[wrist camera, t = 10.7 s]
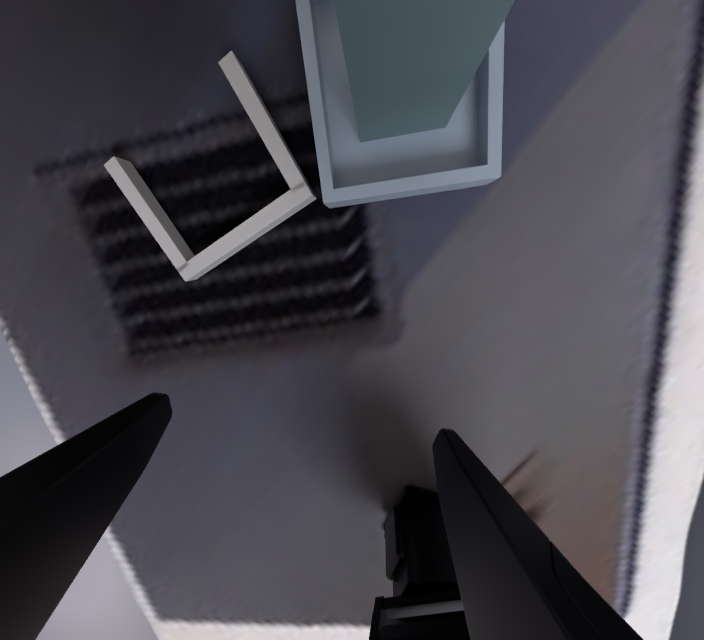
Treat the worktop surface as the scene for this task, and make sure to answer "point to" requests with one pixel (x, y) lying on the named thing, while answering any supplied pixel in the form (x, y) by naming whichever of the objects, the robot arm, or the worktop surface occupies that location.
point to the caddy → (413, 59)
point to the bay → (249, 229)
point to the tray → (400, 151)
